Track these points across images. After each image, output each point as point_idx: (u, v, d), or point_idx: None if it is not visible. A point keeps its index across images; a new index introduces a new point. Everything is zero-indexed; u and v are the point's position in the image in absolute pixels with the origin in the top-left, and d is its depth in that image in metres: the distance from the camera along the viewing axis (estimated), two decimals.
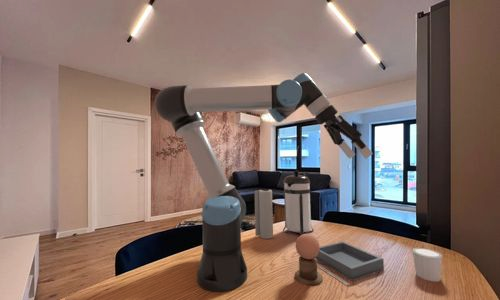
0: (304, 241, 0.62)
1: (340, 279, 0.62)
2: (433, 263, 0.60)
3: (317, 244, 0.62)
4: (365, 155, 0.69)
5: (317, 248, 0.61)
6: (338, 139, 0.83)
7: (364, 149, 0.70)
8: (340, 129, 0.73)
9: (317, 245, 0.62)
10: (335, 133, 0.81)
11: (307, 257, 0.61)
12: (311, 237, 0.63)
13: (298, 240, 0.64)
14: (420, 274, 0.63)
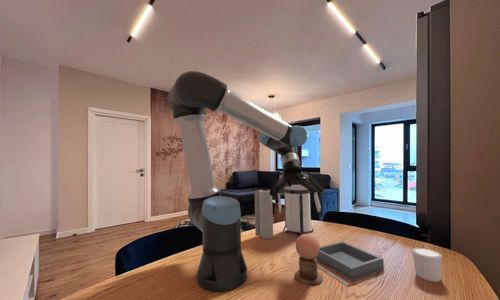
0: (304, 241, 0.62)
1: (340, 279, 0.62)
2: (433, 263, 0.60)
3: (317, 244, 0.62)
4: None
5: (317, 248, 0.61)
6: (281, 190, 0.81)
7: None
8: None
9: (317, 245, 0.62)
10: (286, 183, 0.83)
11: (307, 257, 0.61)
12: (311, 237, 0.63)
13: (298, 240, 0.64)
14: (420, 274, 0.63)
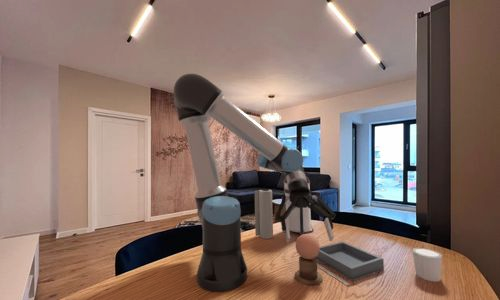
0: (304, 241, 0.62)
1: (340, 279, 0.62)
2: (433, 263, 0.60)
3: (317, 244, 0.62)
4: None
5: (317, 248, 0.61)
6: (288, 214, 0.73)
7: None
8: None
9: (317, 245, 0.62)
10: (293, 207, 0.75)
11: (307, 257, 0.61)
12: (311, 237, 0.63)
13: (298, 240, 0.64)
14: (420, 274, 0.63)
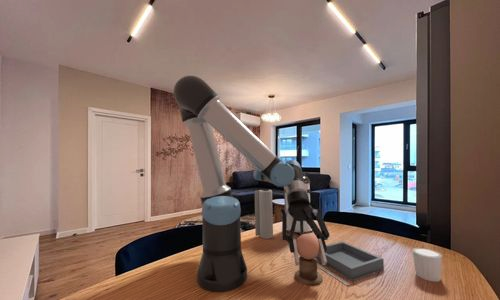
0: (304, 241, 0.62)
1: (340, 279, 0.62)
2: (433, 263, 0.60)
3: (317, 244, 0.62)
4: None
5: (317, 248, 0.61)
6: None
7: None
8: None
9: (317, 245, 0.62)
10: (296, 221, 0.69)
11: (307, 257, 0.61)
12: (311, 237, 0.63)
13: (298, 240, 0.64)
14: (420, 274, 0.63)
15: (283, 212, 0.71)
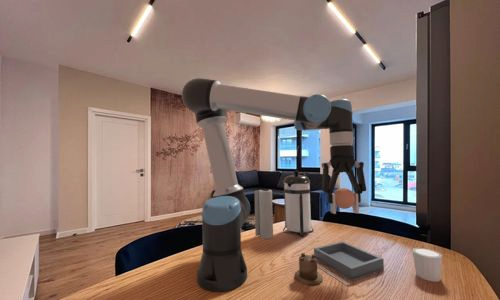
0: (343, 199, 0.70)
1: (340, 279, 0.62)
2: (433, 263, 0.60)
3: (354, 201, 0.70)
4: None
5: (353, 204, 0.71)
6: None
7: None
8: None
9: (354, 201, 0.70)
10: None
11: (342, 208, 0.72)
12: (350, 196, 0.70)
13: (337, 196, 0.71)
14: (420, 274, 0.63)
15: (326, 167, 0.72)
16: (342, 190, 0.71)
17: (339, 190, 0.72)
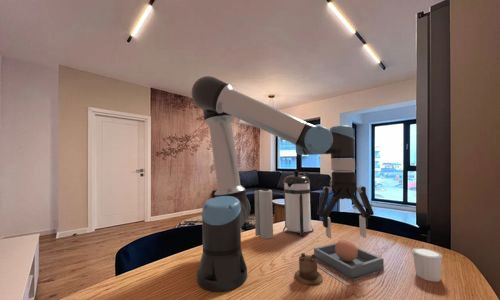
0: (346, 253, 0.69)
1: (340, 279, 0.62)
2: (433, 263, 0.60)
3: (356, 254, 0.69)
4: None
5: None
6: None
7: None
8: (356, 199, 0.72)
9: (356, 255, 0.69)
10: None
11: None
12: (353, 250, 0.69)
13: (340, 249, 0.70)
14: (420, 274, 0.63)
15: (326, 191, 0.72)
16: (344, 243, 0.70)
17: (341, 242, 0.71)
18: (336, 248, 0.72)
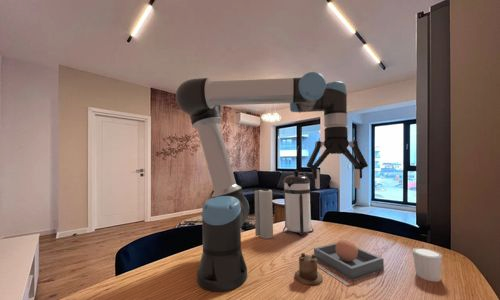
0: (346, 253, 0.69)
1: (340, 279, 0.62)
2: (433, 263, 0.60)
3: (357, 254, 0.69)
4: None
5: None
6: None
7: None
8: (349, 152, 0.74)
9: (356, 255, 0.69)
10: None
11: None
12: (353, 250, 0.69)
13: (340, 249, 0.70)
14: (420, 274, 0.63)
15: (318, 144, 0.74)
16: (345, 243, 0.70)
17: (342, 242, 0.71)
18: (336, 248, 0.72)
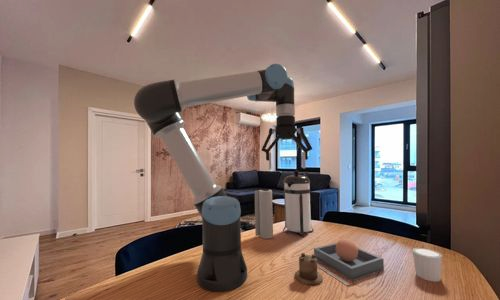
0: (346, 253, 0.69)
1: (340, 279, 0.62)
2: (433, 263, 0.60)
3: (357, 255, 0.69)
4: None
5: (356, 257, 0.70)
6: None
7: None
8: (297, 138, 0.86)
9: (357, 255, 0.69)
10: None
11: None
12: (353, 250, 0.69)
13: (340, 248, 0.70)
14: (420, 274, 0.63)
15: (270, 131, 0.86)
16: (345, 243, 0.70)
17: (342, 242, 0.71)
18: (336, 248, 0.72)
